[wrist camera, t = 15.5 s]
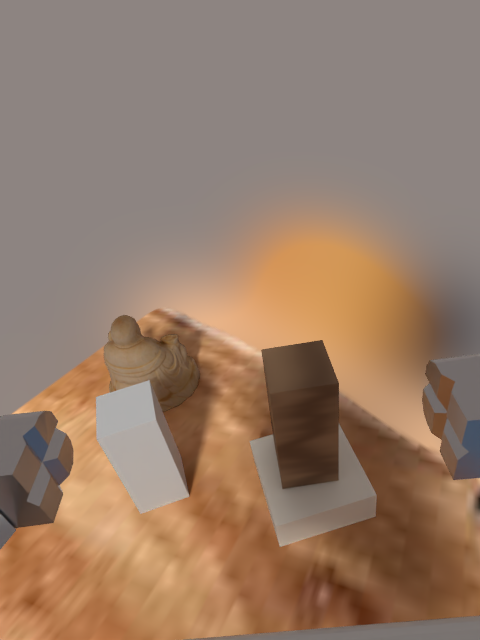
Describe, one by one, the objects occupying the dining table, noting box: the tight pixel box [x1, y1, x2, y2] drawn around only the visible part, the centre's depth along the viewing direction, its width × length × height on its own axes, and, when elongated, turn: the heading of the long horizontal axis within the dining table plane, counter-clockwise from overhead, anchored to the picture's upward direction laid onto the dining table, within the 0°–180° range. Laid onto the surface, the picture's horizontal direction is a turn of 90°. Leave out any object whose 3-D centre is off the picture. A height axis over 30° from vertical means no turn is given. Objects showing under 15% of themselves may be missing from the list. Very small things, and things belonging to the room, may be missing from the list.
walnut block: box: [262, 340, 339, 489], centre depth 37 cm, size 5×5×12 cm
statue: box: [104, 315, 200, 412], centre depth 53 cm, size 12×14×10 cm
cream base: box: [250, 425, 377, 547], centre depth 41 cm, size 9×9×4 cm
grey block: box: [96, 380, 189, 514], centre depth 41 cm, size 5×5×12 cm
